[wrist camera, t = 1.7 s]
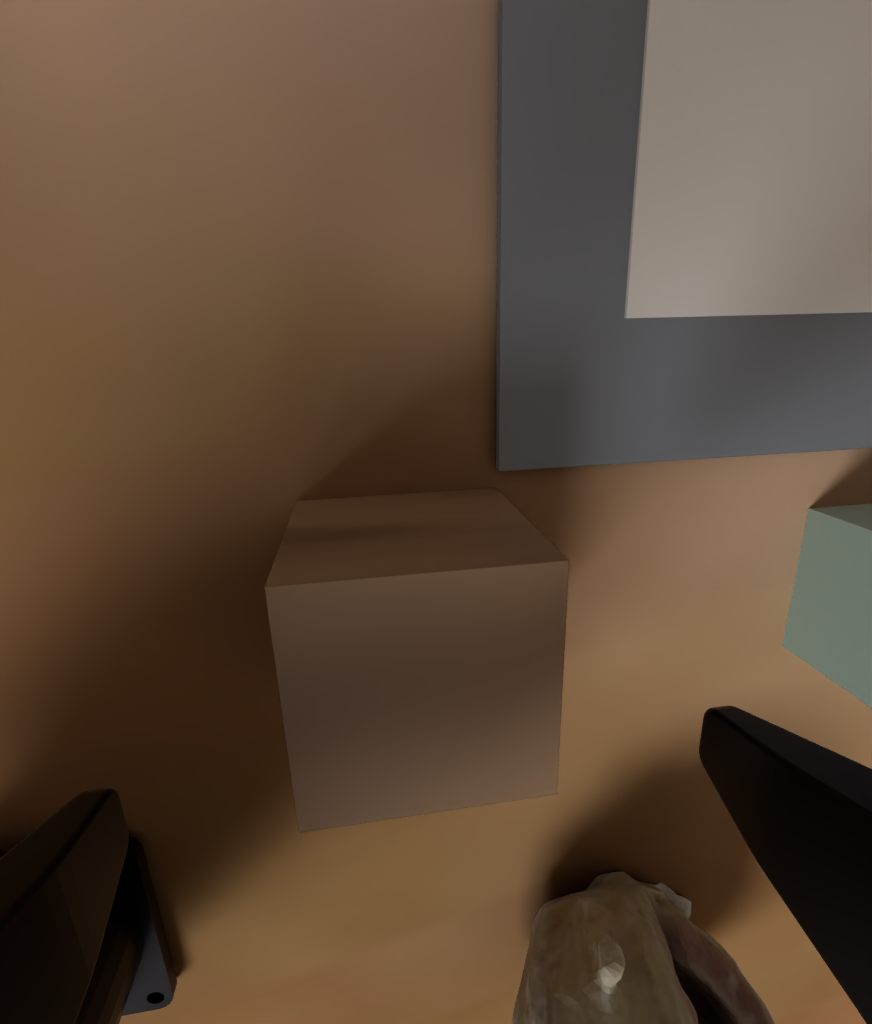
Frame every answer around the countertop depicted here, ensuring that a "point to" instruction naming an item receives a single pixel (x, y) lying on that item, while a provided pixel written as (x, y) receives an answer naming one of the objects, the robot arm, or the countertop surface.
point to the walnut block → (417, 654)
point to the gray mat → (683, 230)
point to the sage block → (835, 598)
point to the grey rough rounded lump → (629, 962)
